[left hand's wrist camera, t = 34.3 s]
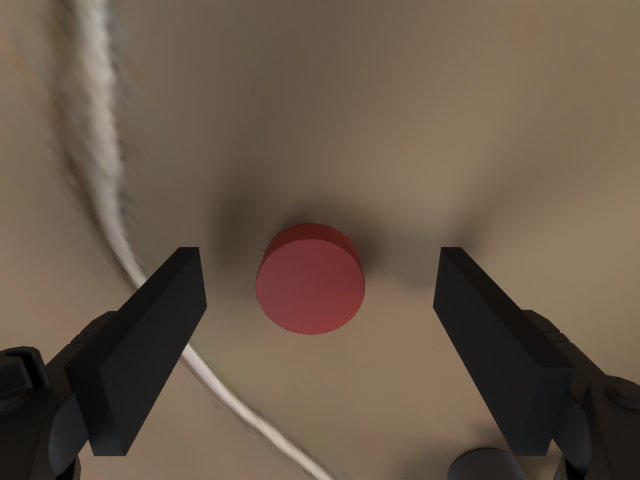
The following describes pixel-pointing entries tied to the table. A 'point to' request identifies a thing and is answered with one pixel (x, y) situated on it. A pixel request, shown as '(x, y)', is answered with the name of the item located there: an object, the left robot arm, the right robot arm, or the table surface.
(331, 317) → the lid
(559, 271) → the table surface
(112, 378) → the left robot arm
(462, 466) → the grey upright cylinder
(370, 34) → the table surface
